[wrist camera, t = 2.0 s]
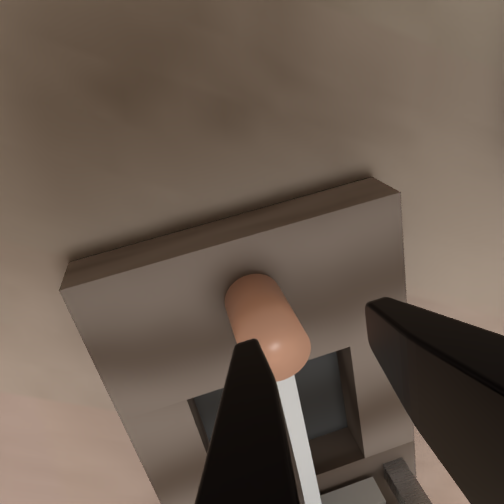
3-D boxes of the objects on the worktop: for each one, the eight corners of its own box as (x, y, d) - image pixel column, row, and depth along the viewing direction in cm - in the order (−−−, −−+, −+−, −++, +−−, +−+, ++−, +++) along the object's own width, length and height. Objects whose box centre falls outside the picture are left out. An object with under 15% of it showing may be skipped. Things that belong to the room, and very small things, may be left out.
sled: (144, 305, 17) (145, 365, 14) (344, 246, 18) (388, 288, 15) (259, 607, 28) (275, 682, 24) (382, 559, 29) (414, 626, 25)
